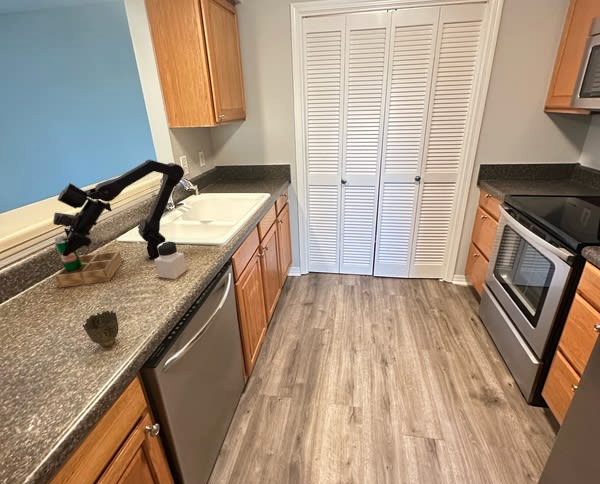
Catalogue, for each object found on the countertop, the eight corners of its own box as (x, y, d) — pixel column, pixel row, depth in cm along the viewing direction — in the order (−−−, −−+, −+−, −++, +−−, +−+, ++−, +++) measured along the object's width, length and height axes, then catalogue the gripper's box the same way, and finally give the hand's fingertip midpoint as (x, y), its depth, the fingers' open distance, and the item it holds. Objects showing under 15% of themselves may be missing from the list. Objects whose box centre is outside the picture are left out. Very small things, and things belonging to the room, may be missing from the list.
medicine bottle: (187, 270, 120) (181, 240, 115) (174, 279, 113) (167, 248, 109) (171, 267, 122) (164, 238, 117) (158, 277, 116) (150, 246, 111)
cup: (100, 335, 87) (91, 311, 84) (128, 332, 88) (120, 308, 85) (86, 355, 81) (76, 329, 77) (116, 352, 81) (107, 327, 78)
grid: (122, 261, 129) (119, 250, 127) (109, 280, 115) (105, 269, 113) (78, 266, 127) (74, 256, 125) (59, 287, 112) (54, 276, 110)
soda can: (65, 273, 112) (52, 242, 107) (66, 267, 116) (54, 237, 111) (82, 269, 114) (70, 238, 109) (82, 263, 118) (71, 233, 113)
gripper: (62, 197, 114) (36, 235, 113) (66, 209, 101) (37, 252, 99) (94, 213, 122) (70, 248, 120) (102, 226, 108) (75, 266, 107)
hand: (63, 253), depth 112 cm, fingers closed on soda can, 5 cm apart
